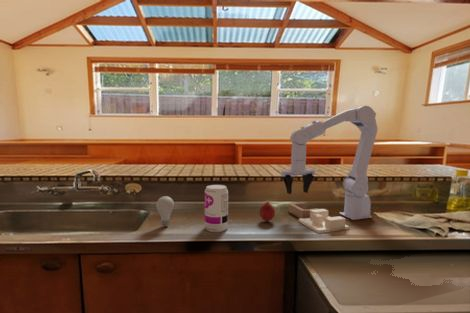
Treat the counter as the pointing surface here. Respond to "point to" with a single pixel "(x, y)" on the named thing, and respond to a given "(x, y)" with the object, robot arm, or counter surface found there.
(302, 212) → the tan c-shaped bracket
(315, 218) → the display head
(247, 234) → the counter surface
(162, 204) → the lightbulb
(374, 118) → the robot arm
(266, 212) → the onion
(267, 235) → the counter surface
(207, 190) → the supplement can
